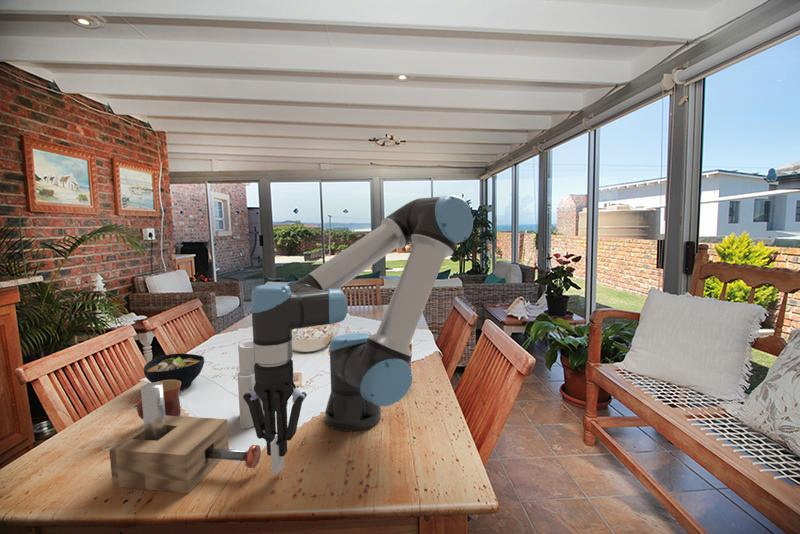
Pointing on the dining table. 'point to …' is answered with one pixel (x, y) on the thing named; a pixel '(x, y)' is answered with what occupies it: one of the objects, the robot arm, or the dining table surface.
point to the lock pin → (236, 455)
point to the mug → (167, 398)
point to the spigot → (153, 411)
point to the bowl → (175, 368)
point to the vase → (246, 381)
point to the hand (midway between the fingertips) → (277, 469)
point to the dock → (169, 455)
